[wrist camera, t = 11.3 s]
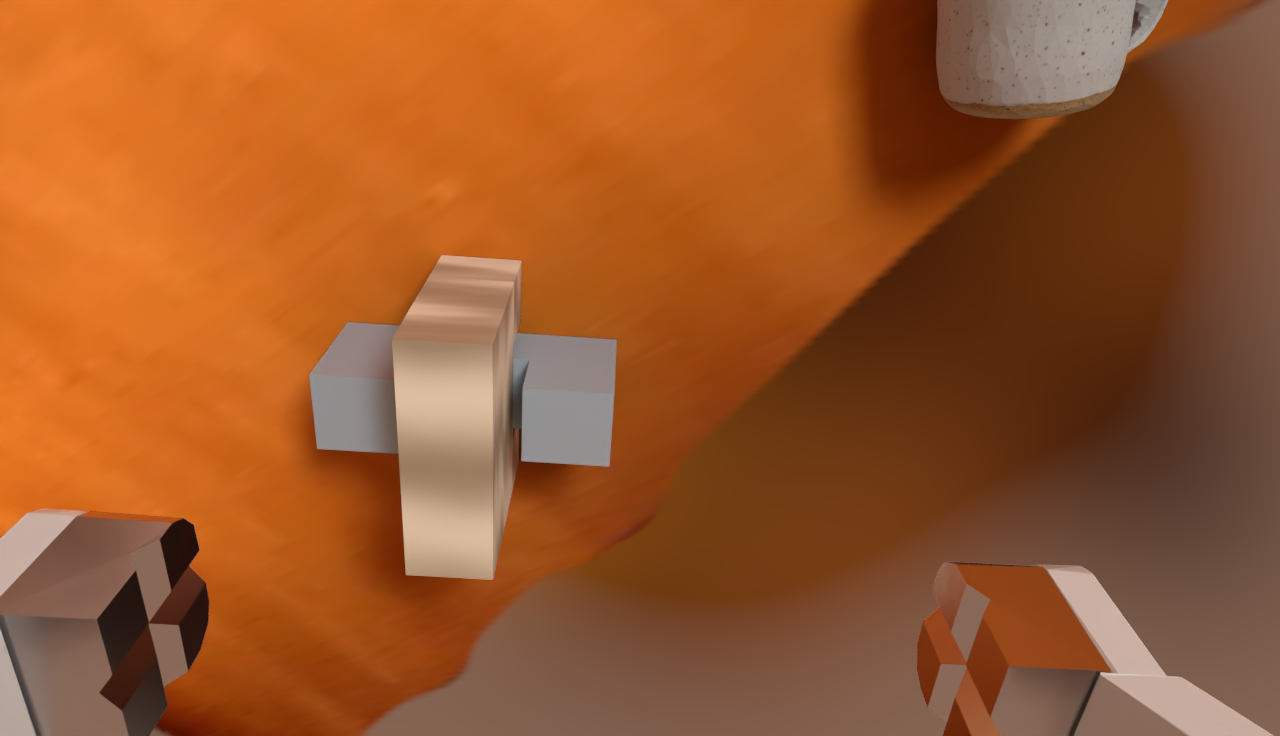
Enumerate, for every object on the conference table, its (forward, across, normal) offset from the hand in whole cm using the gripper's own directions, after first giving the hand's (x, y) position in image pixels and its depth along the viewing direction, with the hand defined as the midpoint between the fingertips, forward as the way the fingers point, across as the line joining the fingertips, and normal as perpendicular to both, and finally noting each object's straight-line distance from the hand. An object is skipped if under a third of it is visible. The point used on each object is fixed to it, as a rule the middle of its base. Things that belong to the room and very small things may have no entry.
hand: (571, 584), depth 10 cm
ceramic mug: (+34, -18, -6) cm, 39 cm away
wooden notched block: (+34, +6, +15) cm, 38 cm away
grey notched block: (+34, +6, +15) cm, 38 cm away
